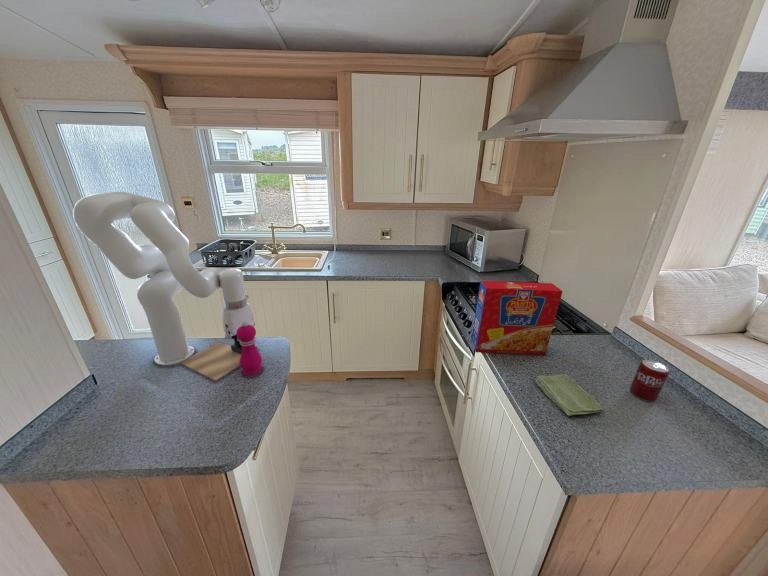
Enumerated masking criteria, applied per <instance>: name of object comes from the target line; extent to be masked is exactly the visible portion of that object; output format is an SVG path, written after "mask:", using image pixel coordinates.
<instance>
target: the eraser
mask: <svg viewBox="0 0 768 576" xmlns="http://www.w3.org/2000/svg"><path fill="white" fill-rule="evenodd" d="M233 341H234V344H231V345H230V346H231V349H232V351H235V352H237V353H239V354H242V349H240V348H237V347H236V344H235V340H234V339H233ZM255 347H256V349H257V350H258V347H257V346H255Z"/></svg>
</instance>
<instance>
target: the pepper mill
mask: <svg viewBox="0 0 768 576" xmlns="http://www.w3.org/2000/svg"><path fill="white" fill-rule="evenodd" d="M236 334H237V337H238V339H240V340H239V342H240V345H242V354H241V357H240V365H239V366H240V368H242V374H243V375H245V376H254V375H257V374H259V373H260V372H262V370H263V367H262V363H263V357H262V354H261V353H260V352H259V350H258V348H257V349H256V347H257V346H256V341H257V339H256V335H257V330H256V328H255V326H254V327H253V326H252V325H248V323H247V322H243V323H242V326H240V327H239V328H238V329H237V333H236Z"/></svg>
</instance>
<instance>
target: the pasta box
mask: <svg viewBox="0 0 768 576" xmlns="http://www.w3.org/2000/svg"><path fill="white" fill-rule="evenodd" d="M562 295H563V290H562V289H560V288H559V287H558V286H556V285H555V284H554V283H553V282H528V281H527V282H526V281H503V280H502V281H499V280H497V281H496V280H480V281H479V288H478V294H477V299H476V300H477V301H476V307H475V312H474V319H473V320H474V321H473V326H472V332H471V339H470V343H471V345H472V347H473V349H474V352H475V353H481V354H507V355H509V354H510V355H534V356H546V355H547V351H548V348H549V343H550V339H551V336H552V333H553V329H554V325H555V322H556V318H557V314H558V310H559V306H560V303H561V299H562Z"/></svg>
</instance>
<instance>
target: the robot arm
mask: <svg viewBox="0 0 768 576" xmlns="http://www.w3.org/2000/svg"><path fill="white" fill-rule="evenodd" d="M72 218H73V221H74V223H75V225H76V227H77V229H78V230H79V231H80V232H81V234H83V235H84V237H85V238H87V239H88V240H89V241H90V242H91V243H92V244H93V245H94V246H96V247H97V249H99V251H100V252H101V253H102V254H103V255H104V256H105V257H106V259H107V260H108V261H109V262H110V263H111V264H112V265H113V266H114V267H115V268H116V269H117V271H119V273H120V274H122V276H124V277H125V278H127V279H129V280H137V279H141V278H143V277H146V276H147V275H149V276H150V277H149V278H147V279H145V280H144V281H143V282H142V283H140V284H139V286H138V288H137V290H136V297H137V300H138V302H139V303H140V305H141V307H142V309H143V311H144V314H145V316H146V319H147V322H148V325H149V328H150V331H151V334H152V338H153V342H154V344H155V349H156V352H157V354H156V355H155V356H154V358H153V359H154V360H153V361H154V363H155V364H156V365H159V366H171V365H176V364H180V362H182V361H184V360H186V359H188V358H189V357H191V356H193V355H194V353H195V348H194V347H193V346H192V345H189V342H188V339H187V335H186V330H185V326H184V322H183V319H182V315H181V312H180V309H179V307H178V305H177V304H176V303H175V301H174V298H175V297H176V296H177V295H178V294H179V293H181V292H182V290H184V289H185V291H187V292H188V293H189V294H190V295H192V296H194V297H195V298H199V299H205V298H208V297H210V296H211V295H213V294H214V292H216V290H218V289H221V294H222V299H223V304H224V307H223V308H222V328H223V331H224V332H223V333H225V335H224V339H225V340H233V341H234V340H235V342H234V344H236V347H237V348H240V349H242V345H240V342H239V340H240V339H238V337H237V334H236V333H237V329H238V328H239V327H240V326H242V323H243V322H247V323H248V325H252V326H253V327H254V328H255V326H256V322H255V319H254V314H253V310H252V307H251V305H250V303H249V302H248V299H249V298H250V296H249V295H248V294H247V292H246V286H245V279H244V274H243V271H242V270H241V269H239V268H220V267H219V268H218V267H206V268H204V269H203V270H201V271H199V270H198V269H197V268H196V267H195V265H194V264H193V262H192V260H191V257H190V253H189V251H190V241H189V239H188V238H187V237H186V235H185V234H184V233H183V232H182V231H181V230H180V229H179V228H178V227H177V226H176V225H175V224H174V223H173V222H174V221H175V219H176V214H175V211H174V209H173V208H172V207H171V206H170V205H169V204H168V203H166V202H164V201H162V200H159V199H155V198H152V197H148V196H142V195H139V194H135V193H131V192H127V191H110V192H101V193H93V194H89V195H86V196H84V197H81V198H80V199H79V200H78V201H76V202H75V205H74V206H73V210H72ZM125 219H130V222H131V223H132V224H133V226H135V228H137V229H138V230H139V232H141V233H142V234H143V235H144V237H146V238H147V239H148V240H149V241H150V243H152V244H149V243H141V244H138V245H137V244H136V243H135V242H134V241H133V240H132V238H131V237H130V236H129V235H128V234H127V233H126V232H125V231H124V230H122V229H121V228H119V227H117V226H116V225H114V224H113V222H117V221H121V220H125Z"/></svg>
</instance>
